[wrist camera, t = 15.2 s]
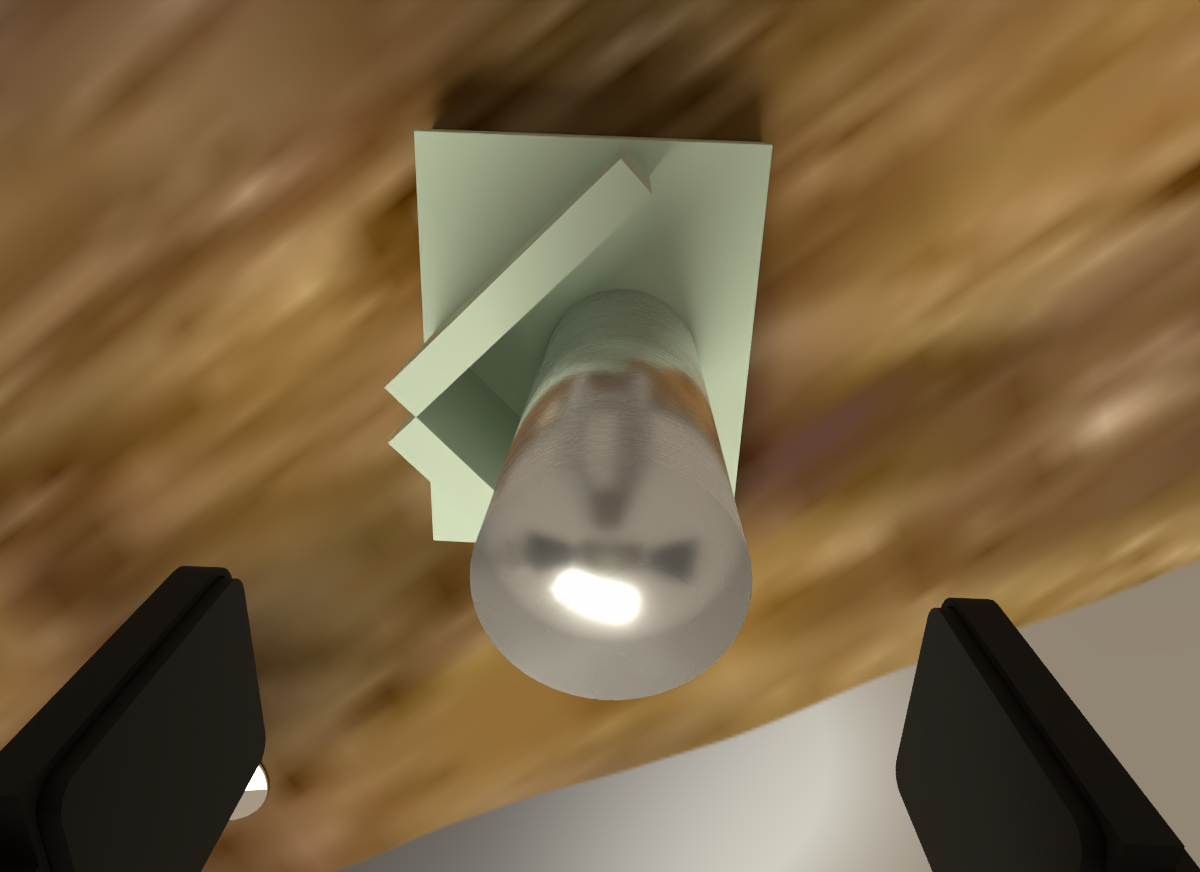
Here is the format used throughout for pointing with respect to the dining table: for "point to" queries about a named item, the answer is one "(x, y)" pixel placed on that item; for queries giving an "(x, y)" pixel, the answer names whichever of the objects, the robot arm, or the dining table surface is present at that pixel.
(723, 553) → the steel axle
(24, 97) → the dining table surface
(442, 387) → the v-block
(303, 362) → the dining table surface
